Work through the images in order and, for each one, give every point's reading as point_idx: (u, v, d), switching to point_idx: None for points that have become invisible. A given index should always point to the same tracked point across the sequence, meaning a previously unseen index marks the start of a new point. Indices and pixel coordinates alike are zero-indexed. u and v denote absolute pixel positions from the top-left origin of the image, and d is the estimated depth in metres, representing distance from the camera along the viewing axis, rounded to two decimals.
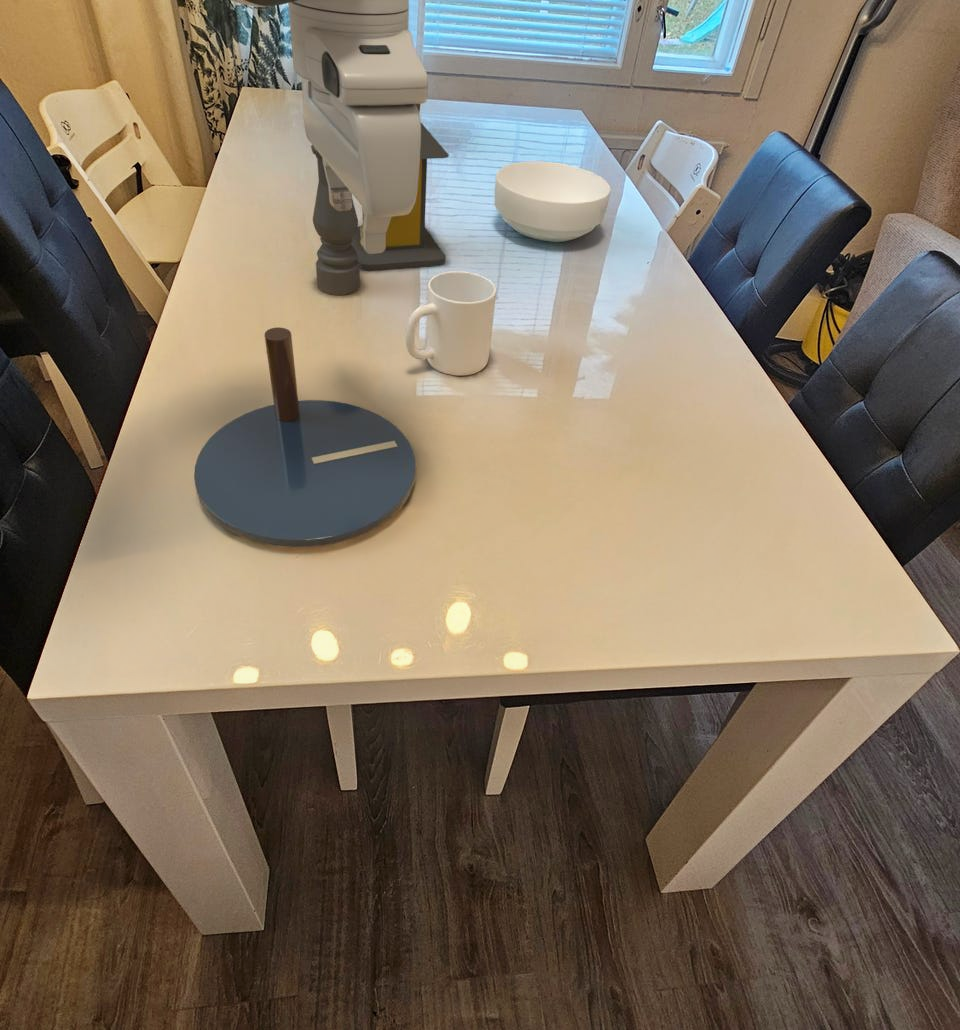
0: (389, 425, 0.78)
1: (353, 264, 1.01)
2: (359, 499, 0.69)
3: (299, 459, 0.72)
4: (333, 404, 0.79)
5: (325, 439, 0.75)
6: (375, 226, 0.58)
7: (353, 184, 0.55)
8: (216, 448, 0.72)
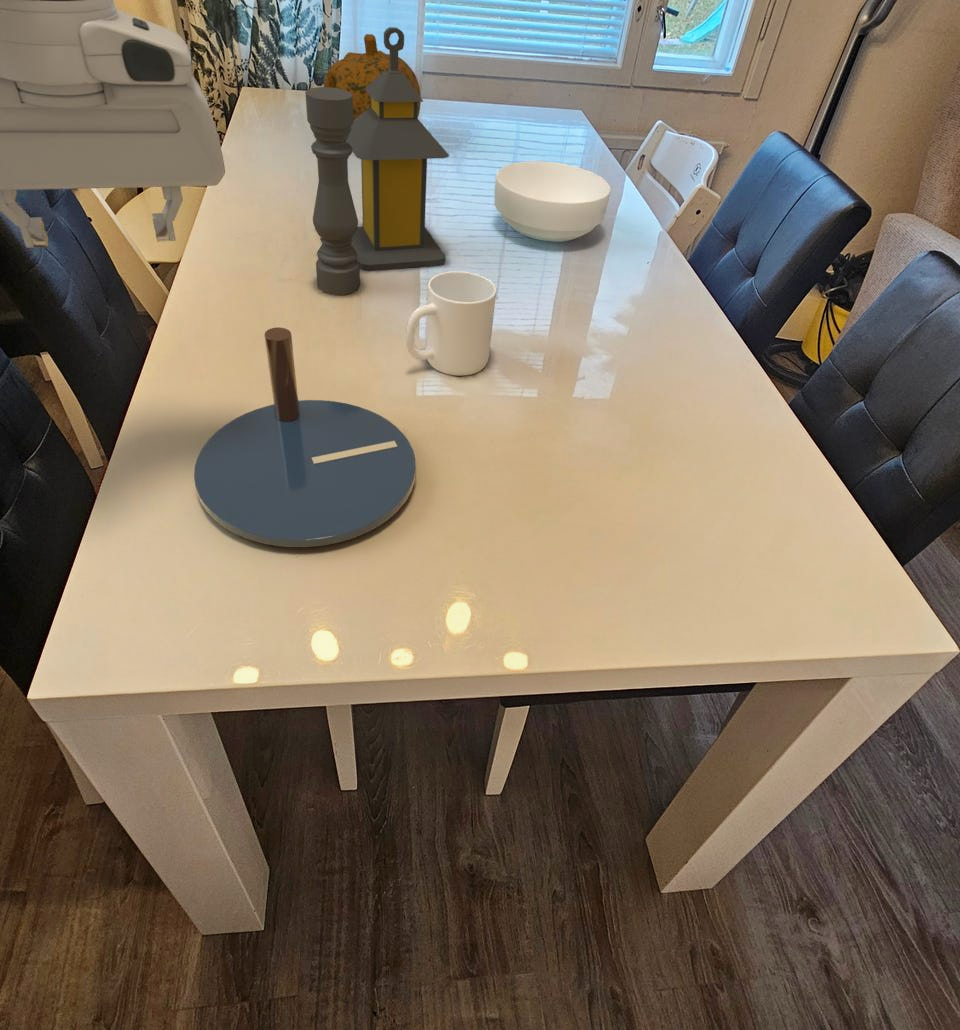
0: (389, 425, 0.78)
1: (353, 264, 1.01)
2: (359, 499, 0.69)
3: (299, 459, 0.72)
4: (333, 404, 0.79)
5: (325, 439, 0.75)
6: None
7: (165, 172, 0.54)
8: (216, 448, 0.72)
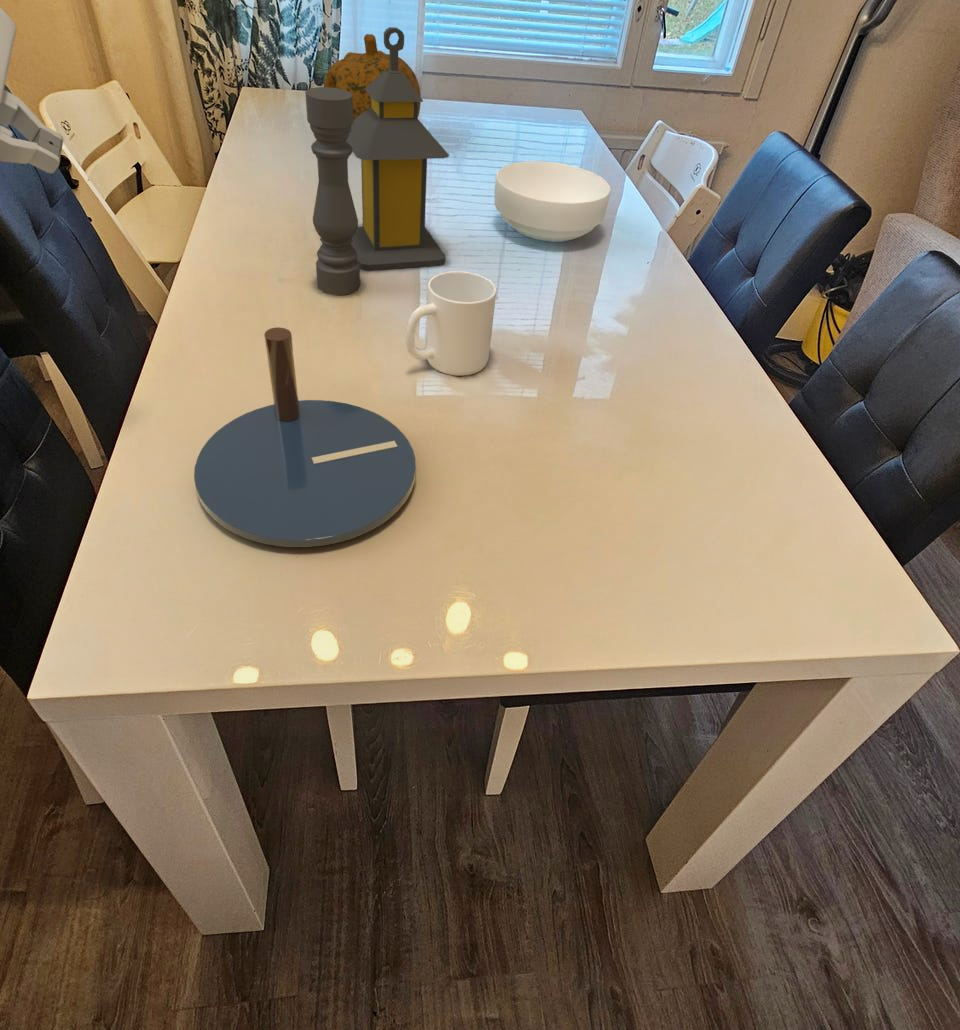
0: (389, 425, 0.78)
1: (353, 264, 1.01)
2: (359, 499, 0.69)
3: (299, 459, 0.72)
4: (333, 404, 0.79)
5: (325, 439, 0.75)
6: None
7: None
8: (216, 448, 0.72)
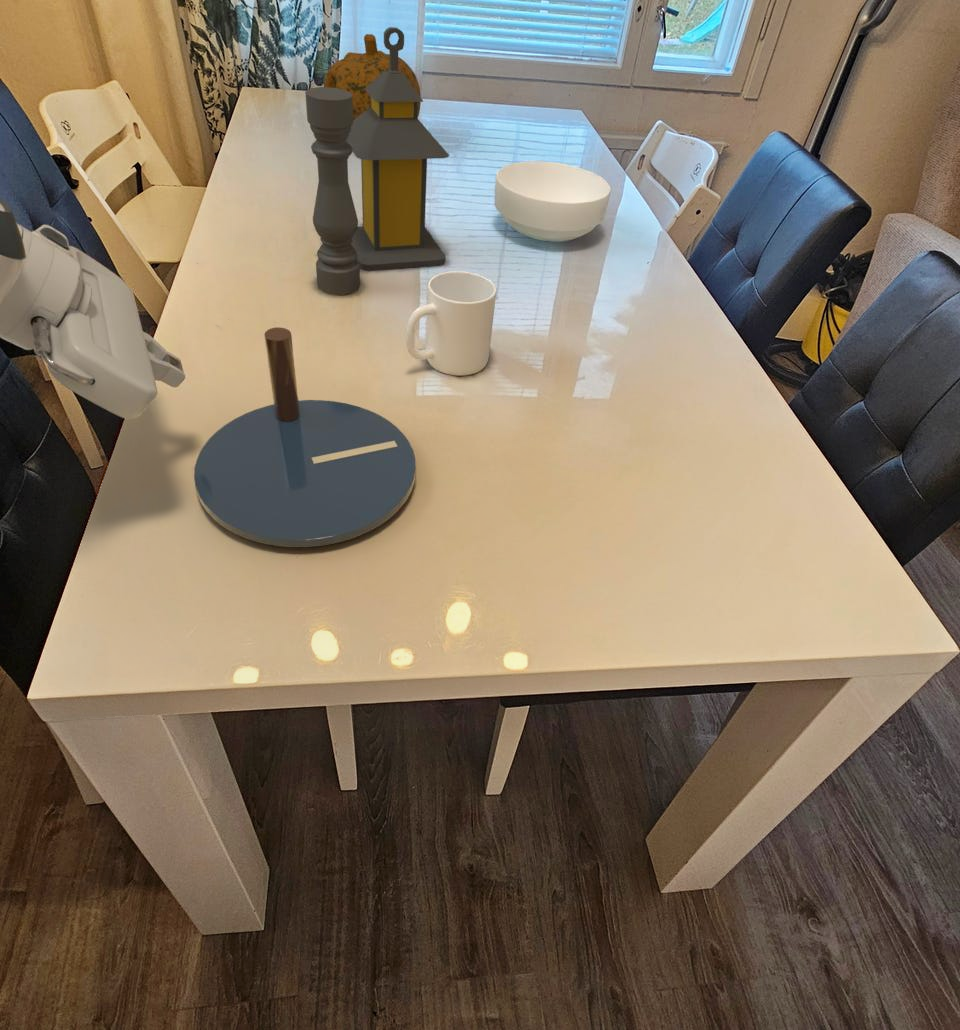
0: (389, 425, 0.78)
1: (353, 264, 1.01)
2: (359, 499, 0.69)
3: (299, 459, 0.72)
4: (333, 404, 0.79)
5: (325, 439, 0.75)
6: None
7: (127, 299, 0.68)
8: (216, 448, 0.72)
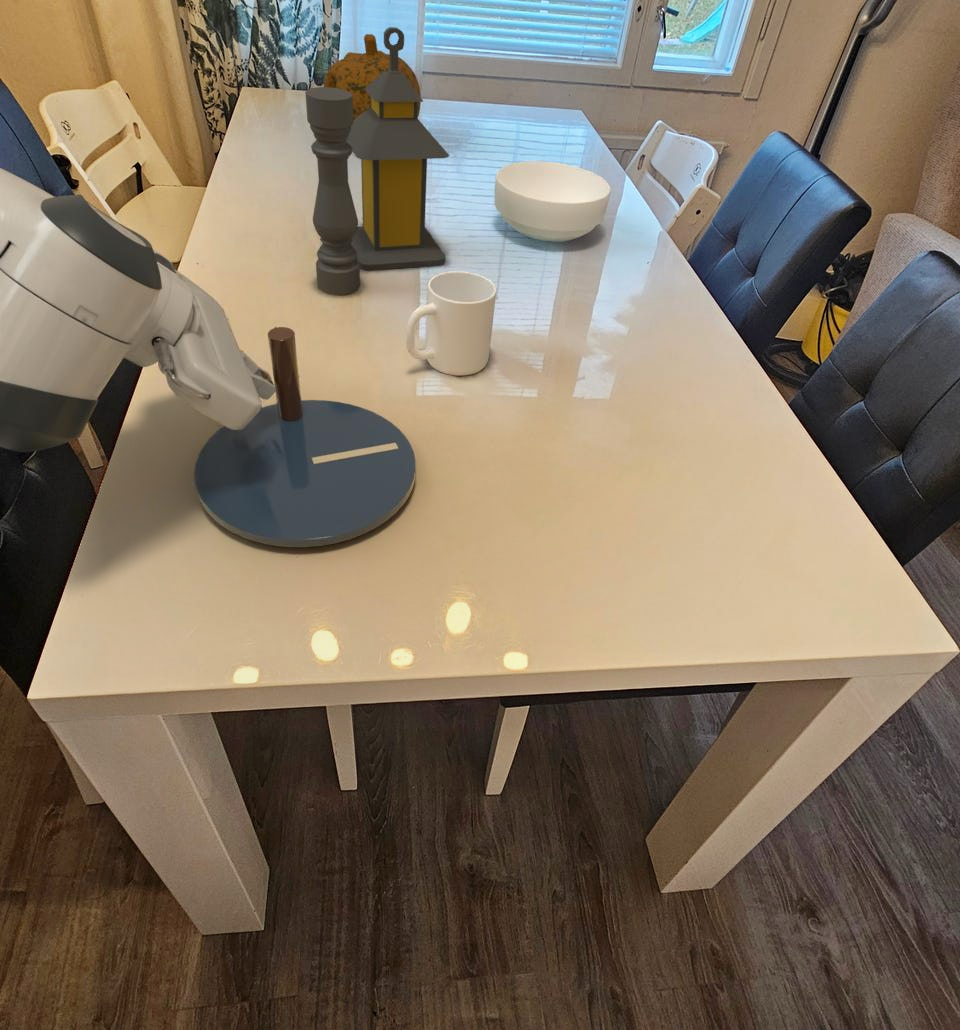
0: (391, 427, 0.77)
1: (353, 264, 1.01)
2: (356, 500, 0.69)
3: (300, 459, 0.72)
4: (337, 405, 0.79)
5: (327, 440, 0.75)
6: None
7: (221, 318, 0.73)
8: (217, 446, 0.73)
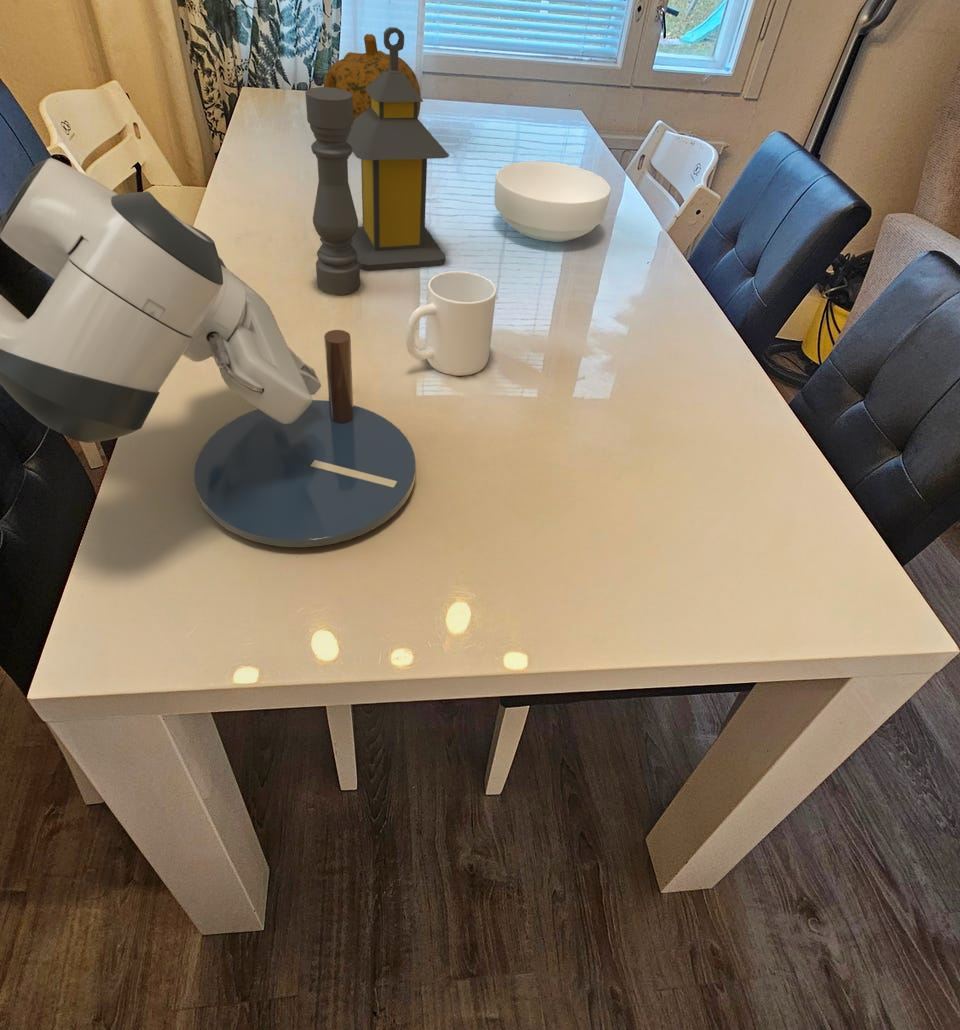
0: (410, 466, 0.73)
1: (353, 264, 1.01)
2: (306, 514, 0.67)
3: (304, 456, 0.73)
4: (387, 425, 0.78)
5: (344, 451, 0.74)
6: None
7: (269, 315, 0.74)
8: (259, 416, 0.77)
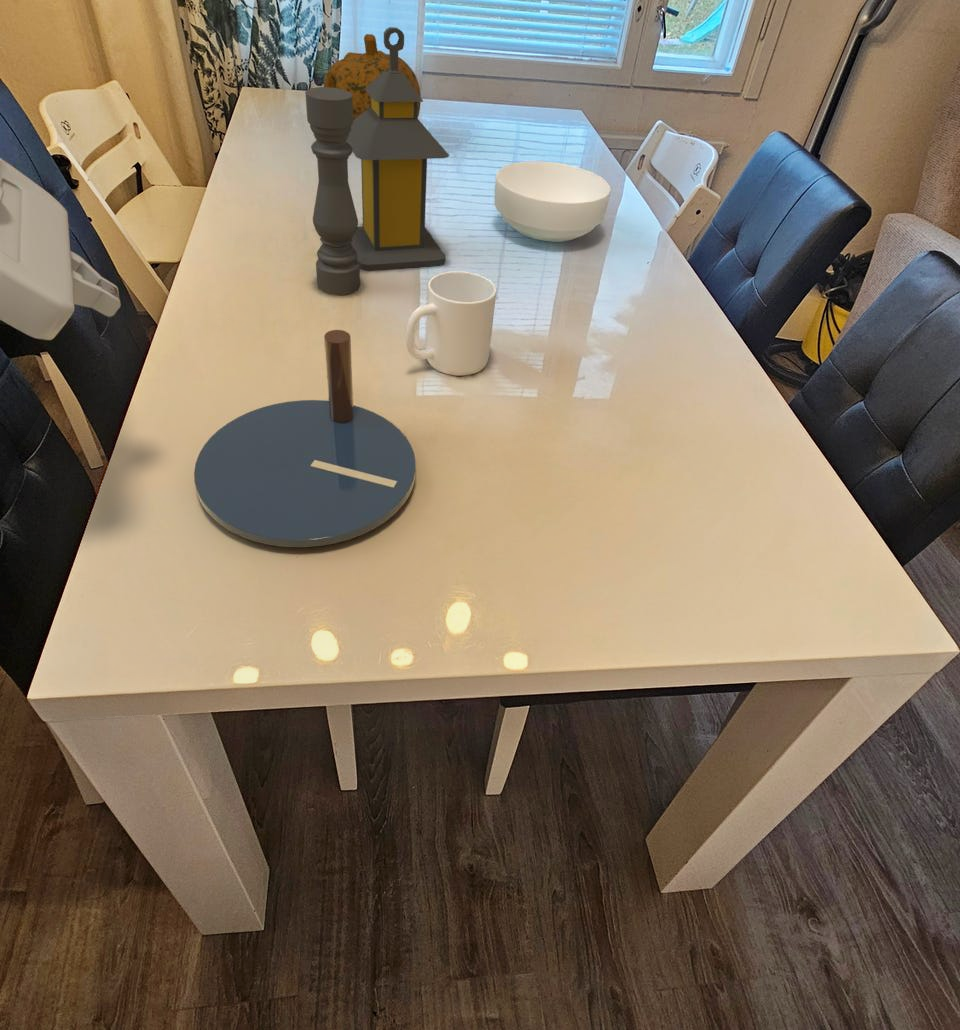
0: (410, 466, 0.73)
1: (353, 264, 1.01)
2: (306, 514, 0.67)
3: (304, 456, 0.73)
4: (387, 425, 0.78)
5: (344, 451, 0.74)
6: None
7: (56, 217, 0.60)
8: (259, 416, 0.77)
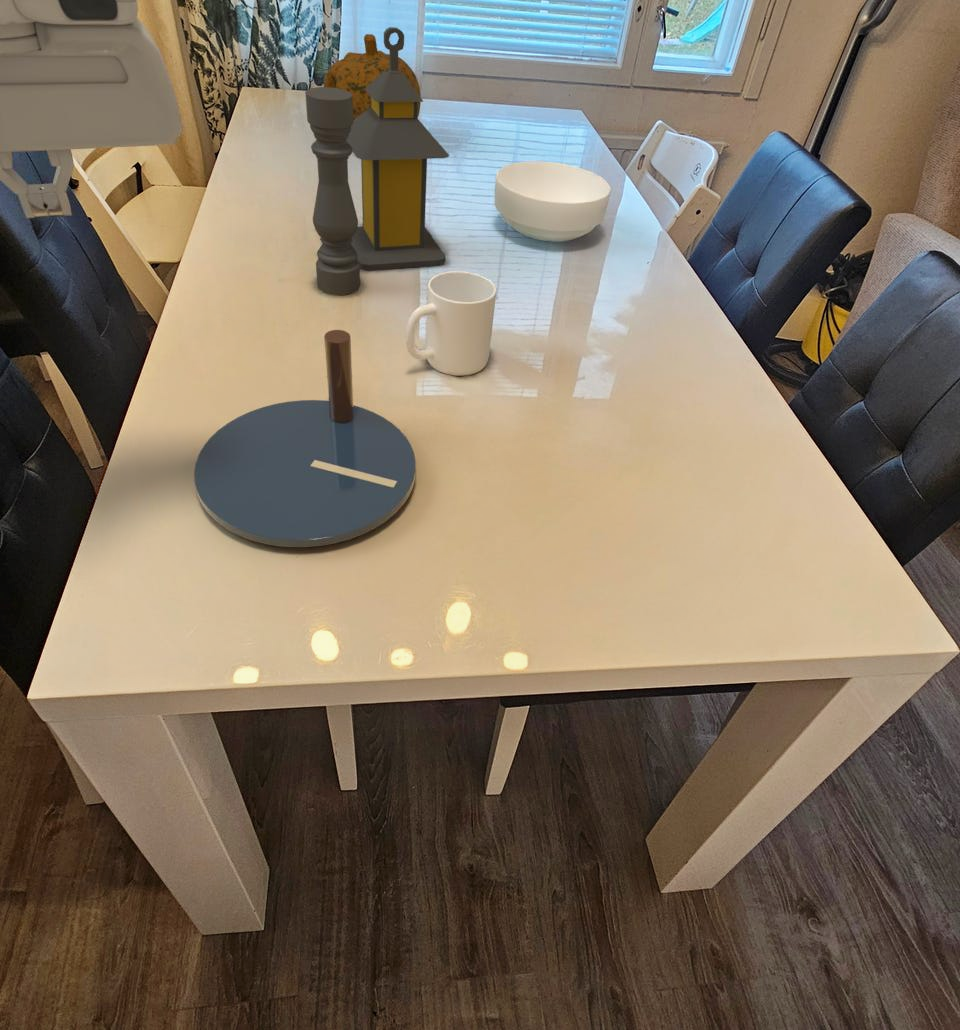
0: (410, 466, 0.73)
1: (353, 264, 1.01)
2: (306, 514, 0.67)
3: (304, 456, 0.73)
4: (387, 425, 0.78)
5: (344, 451, 0.74)
6: None
7: (114, 129, 0.47)
8: (259, 416, 0.77)
